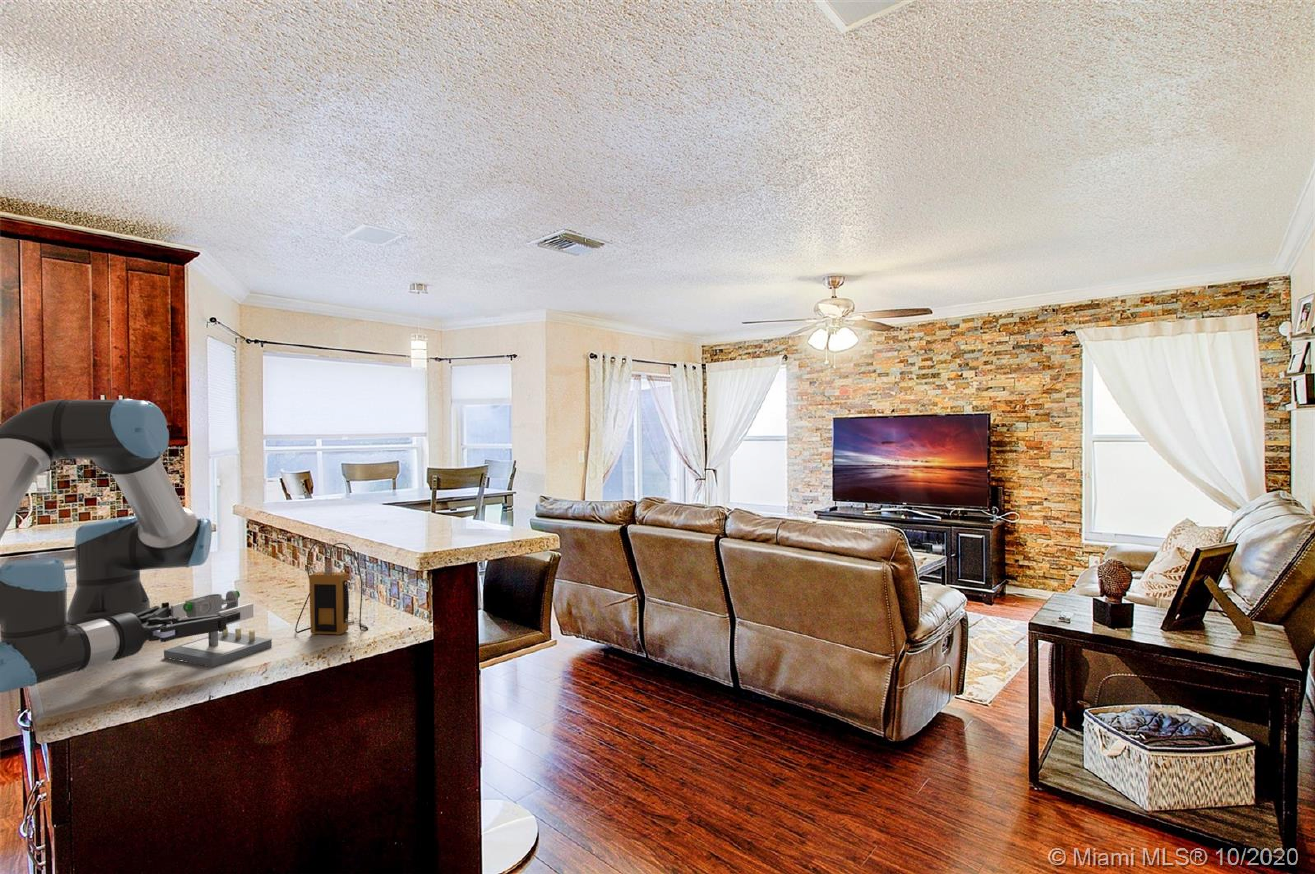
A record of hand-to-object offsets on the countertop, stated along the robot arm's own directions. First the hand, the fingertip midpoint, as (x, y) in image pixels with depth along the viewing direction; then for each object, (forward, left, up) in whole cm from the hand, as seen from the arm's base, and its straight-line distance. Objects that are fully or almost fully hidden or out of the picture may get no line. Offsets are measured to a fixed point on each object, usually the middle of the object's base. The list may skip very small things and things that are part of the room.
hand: (228, 606), depth 131 cm
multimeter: (+10, +18, -9) cm, 22 cm away
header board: (0, -2, -9) cm, 9 cm away
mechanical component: (0, -3, -7) cm, 8 cm away
